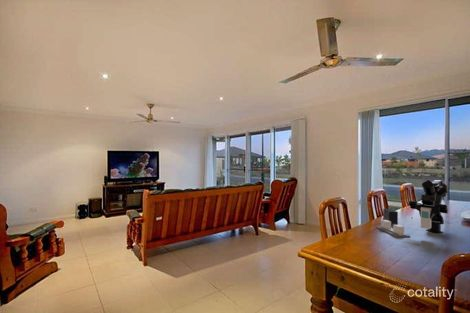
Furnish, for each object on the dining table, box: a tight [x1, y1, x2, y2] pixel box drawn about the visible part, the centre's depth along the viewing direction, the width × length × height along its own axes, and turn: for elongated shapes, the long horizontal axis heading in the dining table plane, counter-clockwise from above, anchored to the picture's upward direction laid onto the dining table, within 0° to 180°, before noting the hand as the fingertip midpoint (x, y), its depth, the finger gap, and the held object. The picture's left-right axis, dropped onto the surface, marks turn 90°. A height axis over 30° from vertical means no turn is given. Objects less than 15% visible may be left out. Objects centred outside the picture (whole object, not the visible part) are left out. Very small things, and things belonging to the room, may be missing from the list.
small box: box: [382, 208, 399, 226], centre depth 179 cm, size 11×6×10 cm, turn 168°
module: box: [420, 207, 431, 230], centre depth 145 cm, size 4×4×12 cm
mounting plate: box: [375, 219, 411, 239], centre depth 158 cm, size 9×20×6 cm, turn 2°
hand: (425, 217), depth 145 cm, fingers closed on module, 4 cm apart
